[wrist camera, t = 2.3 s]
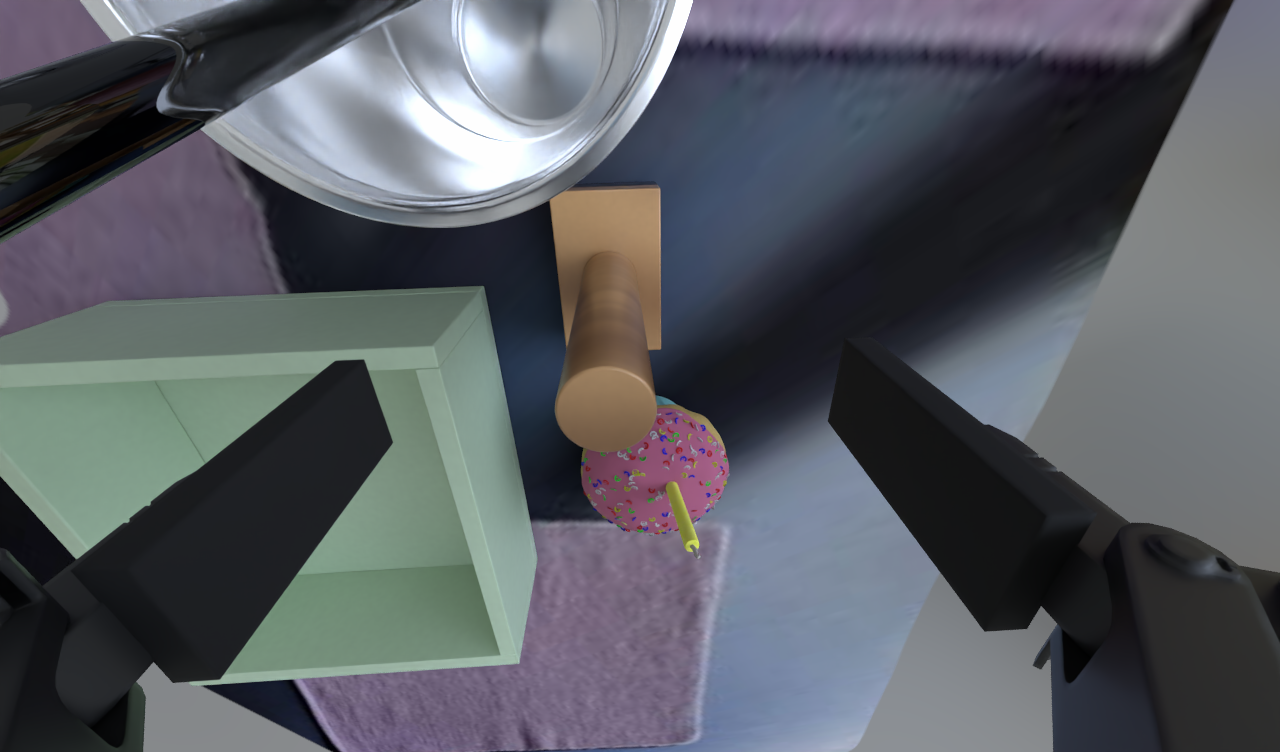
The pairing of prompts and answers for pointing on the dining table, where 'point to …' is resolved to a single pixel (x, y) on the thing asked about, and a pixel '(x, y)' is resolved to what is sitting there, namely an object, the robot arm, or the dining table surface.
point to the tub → (245, 393)
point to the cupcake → (660, 476)
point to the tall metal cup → (344, 100)
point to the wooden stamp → (608, 311)
